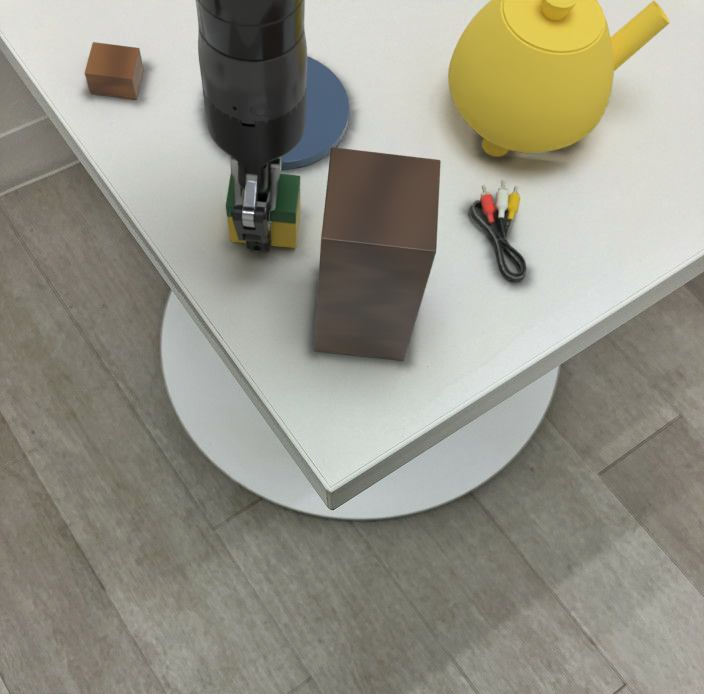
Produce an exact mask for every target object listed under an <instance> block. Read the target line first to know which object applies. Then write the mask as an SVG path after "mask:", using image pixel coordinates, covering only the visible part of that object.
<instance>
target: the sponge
mask: <svg viewBox="0 0 704 694" xmlns="http://www.w3.org/2000/svg"><path fill="white" fill-rule="evenodd" d="M269 192H270V188H269V190H268V191H267V192H266V193H269ZM225 200H226V201H225V212H226V218H227V227H228V233H229V240H230V241H229V242H232V243H241V244H246V240H244V241H241V240H238V236H237V233H236V230H235V227H234V224H233V220H232V216H231V210H233V206H234V205H236V204H235V192H234V177H233V176H232V174H231V173H230V174H229V182H228V188H227V194H226V199H225ZM300 219H301V175H298V174H291V173H290V174H288V173H280V178H279V180H278V197H277V203H276V208H275V209H274V210H272V211H271V220H273V223H272V226H271V247H273V246H274V247H281V248H282V247H283V248H291V249H296V248H297V243H298V235H299V229H300V228H299V227H300Z"/></svg>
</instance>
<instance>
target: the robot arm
mask: <svg viewBox="0 0 704 694" xmlns="http://www.w3.org/2000/svg"><path fill="white" fill-rule="evenodd" d="M195 7H196V16H197V25H198V26H197V27H198V29H197V30H198V34H197V54H198V63H199V71H200V72H199V73H200V78H201V87H202V95H203V103H204V109H205V111H206V112H205V118H206V125H207V129H208V133H209V135H210V136H211V137H210V138H211V139H212V140H213V141H214V143H215V144H216V145H217V146H218V147H219V148H220V149H221V150H222V151H224V152H225V153H226V154H228V156H230V158H229V159H230V161H229V162H230V166H229V167H230V175H231V174H232V176H233V177H234V192H235V204H236V205H234V206H233V210H231V216H232V220H233V224H234V227H235V230H236V233H237V236H238V240H241V241H244V240H246V243H245V247H246V250H248V251H249V252H253V253H255V252H256V253H263V254H264V253H268V252H270V251H271V248H272V246H271V226H272V223H273V220H271V211H272V210H274V209H275V208H276V203H277V197H278V180H279V178H280V174H281V172H282V169H281V167H282V159H283V156H284V155H285V154H287V153H289V152H290V151H291V150H292V149H294V148H295V147H296V145H297V144H298V143H299V141H300V140H301V138H302V136H303V134H304V130H305V124H306V88H307V56H308V47H307V45H308V44H307V38H306V37H307V36H306V31H305V30H306V29H305V16H306V15H305V11H306V9H305V8H306V0H195ZM269 188H270V192H269V193H266V192H267V191H268V190H269Z"/></svg>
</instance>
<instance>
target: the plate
mask: <svg viewBox="0 0 704 694" xmlns="http://www.w3.org/2000/svg"><path fill="white" fill-rule="evenodd" d="M205 113H206V111H205ZM349 119H350V101H349V96H348V94H347V91H346V88H345V87H344V85H343V83H342V81H341V80H340V78H339V77H338V76H337V75H336V74H335V73H334V72H333V71H332V70H331V69H330V68H329V67H328V66H326V65H325V64H324V63H322V62H320V61H319V60H316V59H315V58H313V57H311V56H308V55H307V88H306V124H305V130H304V134H303V136H302V138H301V140H300V141H299V143H298V144H297V145H296V147H295V148H294V149H292V150H291V151H290V152H289V153H287V154H285V155H284V156H283V159H282V167H281V170H290V169H296V168H297V169H298V168H302V167H306V166H309V165H312V164H314V163H316V162H318V161H320V160H322V159H324V158H325V157H326V156H329V155H330V153H331V148H332V147H335V148H337V147H338V145H339V144H340V143H341V141H342V140H343V138H344V136H345V134H346V131H347V129H348V126H349V125H348V124H349Z"/></svg>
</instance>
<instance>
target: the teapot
mask: <svg viewBox="0 0 704 694" xmlns="http://www.w3.org/2000/svg"><path fill="white" fill-rule="evenodd" d="M669 24H670V20H669V18H668V16H667V14H666V13H665V11H664V10H663V8H662V7H661V5H659V3H658V2H657V1H655V0H652V1H651V2H649V4H647V5H646V6H645V7H644V8H643V9H641V11H640V12H638V13H637V14H636V15H634V16H633V18H631V19H630V20H629V21H628V22H626V23H625V24H624V25H622V27H621V28H620V29H618V30H617V31H616V32H615V33H614V34H613V35H611V33H610V28H609V25H608V21H607V18H606V16H605V13H604V10H603V7H602V6H601V4H600V2H599V1H598V0H489V1H488V2H486V4H485V5H484V6H483V7H482V8H481V9H480V10H479V11H478V12H477V13H476V14H475V15H474V16H473V17H472V19H471V20H470V21H469V22H468V24H467V25H466V27H465V28H464V30H463V32H462V34H461V35H460V37H459V39H458V41H457V43H456V45H455V47H454V50H453V52H452V55H451V57H450V61H449V66H448V73H447V79H448V80H447V81H448V87H449V88H448V89H449V92H450V95H451V99H452V101H453V104H454V106H455V108H456V109H457V111H458V112H459V114H460V115H461V117H462V118H463V119H464V121H465V122H466V123H467V124H468V126H469V127H470V128H471V129H472V130H473V131H474V132H476V134H478V135H479V136H481V137H482V138H483V139H482V141H481V148H482V149H483V151H484V152H485V153H486V154H488V155H489V156H492V157H503V156H505V155H506V154H507V153H509V151H511V152H516V153H523V154H535V153H537V154H538V153H547V152H551V151H556V150H560V149H564V148H566V147H569V146H571V145H574V144H577V143H578V142H579V141H581V140H582V139H584V138H585V137H587V136H588V135H589V134H590V133H591V132H593V130H594V129H595V128H596V127H597V126H598V124H599V123H600V121H601V120H602V118H603V116H604V114H605V112H606V109H607V107H608V104H609V101H610V98H611V94H612V88H613V82H614V75H615V72H616V71H617V69H619V68H620V67H621V66H623V64H624V63H626V62H627V61H628V60H629V59H630V58H631V57H632V56H634V55H635V54H636V53H637V52H638V51H639V50H641V49H642V48H643V47H644V46H645V45H646V44H647V43H649V42H650V41H651V40H652V39H654V37H656V36H657V35H658V34H659V33H660V32H662V31H663V30H664V29H665V28H666V27H667V26H668V25H669Z"/></svg>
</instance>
